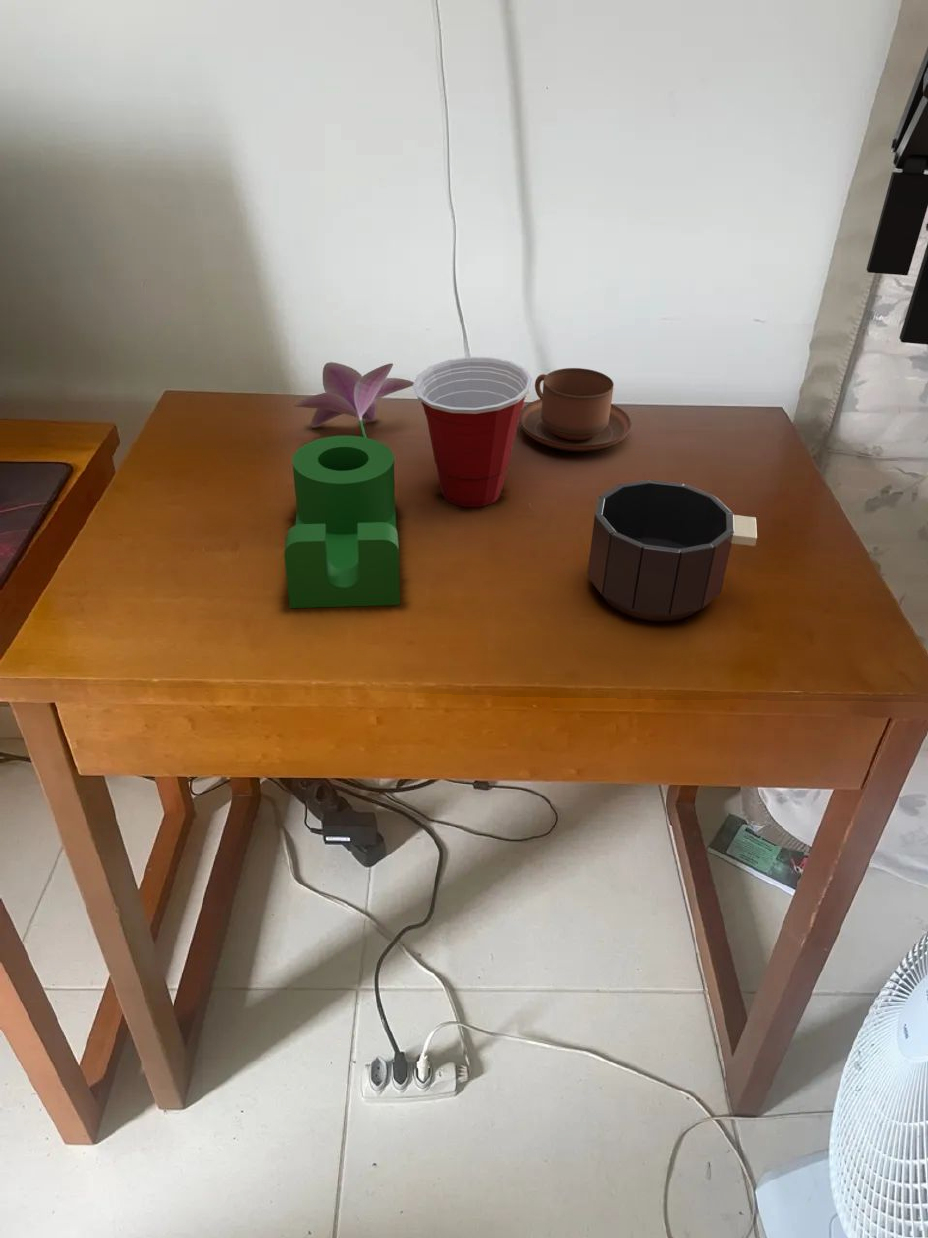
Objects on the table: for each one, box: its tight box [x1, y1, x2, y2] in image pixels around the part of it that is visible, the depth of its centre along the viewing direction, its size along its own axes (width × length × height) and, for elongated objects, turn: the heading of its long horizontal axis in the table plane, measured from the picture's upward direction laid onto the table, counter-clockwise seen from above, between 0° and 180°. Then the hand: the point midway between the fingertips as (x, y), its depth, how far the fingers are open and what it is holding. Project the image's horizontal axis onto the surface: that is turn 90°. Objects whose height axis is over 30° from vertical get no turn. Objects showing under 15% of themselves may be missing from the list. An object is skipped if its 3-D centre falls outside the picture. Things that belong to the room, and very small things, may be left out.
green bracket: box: [283, 435, 401, 609], centre depth 86 cm, size 18×9×6 cm, turn 5°
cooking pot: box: [586, 479, 758, 615], centre depth 81 cm, size 13×11×6 cm
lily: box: [293, 361, 415, 438], centre depth 102 cm, size 12×12×10 cm
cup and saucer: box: [518, 367, 632, 452], centre depth 104 cm, size 12×12×6 cm
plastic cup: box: [412, 356, 533, 508], centre depth 92 cm, size 11×11×12 cm
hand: (903, 304), depth 64 cm, fingers open, 13 cm apart
